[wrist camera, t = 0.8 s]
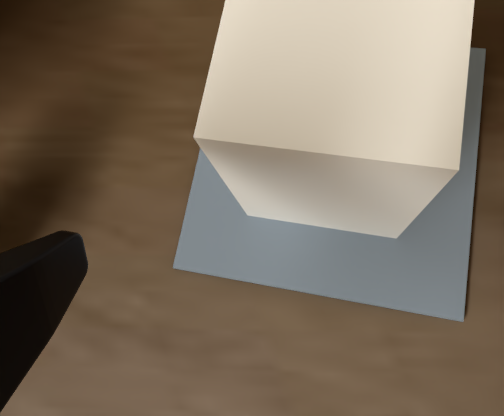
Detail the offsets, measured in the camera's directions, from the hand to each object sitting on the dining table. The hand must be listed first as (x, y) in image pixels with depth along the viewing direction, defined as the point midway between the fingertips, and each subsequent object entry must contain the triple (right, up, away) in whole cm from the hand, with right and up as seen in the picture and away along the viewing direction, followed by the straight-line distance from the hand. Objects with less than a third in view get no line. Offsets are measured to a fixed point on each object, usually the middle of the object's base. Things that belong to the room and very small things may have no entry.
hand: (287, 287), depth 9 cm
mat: (+3, +4, +14) cm, 15 cm away
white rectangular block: (+3, +4, +14) cm, 15 cm away
